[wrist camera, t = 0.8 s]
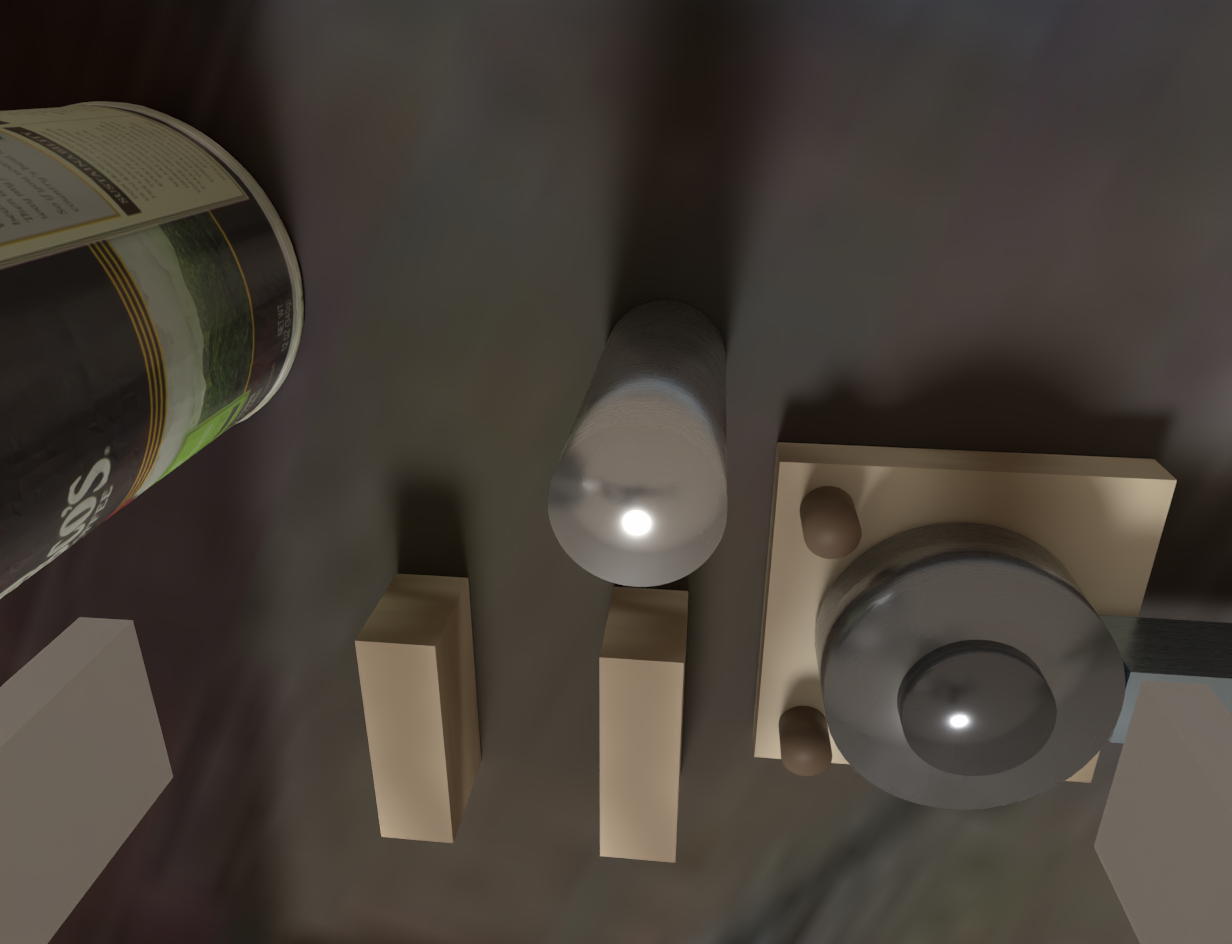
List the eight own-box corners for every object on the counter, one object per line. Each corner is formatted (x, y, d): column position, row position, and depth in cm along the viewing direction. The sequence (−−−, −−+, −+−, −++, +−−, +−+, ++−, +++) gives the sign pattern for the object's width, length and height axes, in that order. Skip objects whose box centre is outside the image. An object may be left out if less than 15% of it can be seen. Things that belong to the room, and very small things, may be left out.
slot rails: (416, 755, 35) (381, 836, 31) (397, 573, 31) (354, 640, 28) (680, 776, 34) (675, 862, 30) (688, 591, 31) (683, 662, 27)
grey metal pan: (803, 731, 30) (814, 818, 27) (827, 515, 27) (843, 582, 23) (1338, 770, 29) (1422, 868, 25) (1434, 546, 25) (1546, 623, 22)
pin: (605, 413, 28) (549, 581, 19) (605, 297, 27) (545, 421, 18) (722, 418, 28) (722, 591, 19) (729, 301, 26) (732, 429, 17)
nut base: (753, 727, 33) (755, 788, 30) (777, 442, 28) (783, 483, 25) (1075, 751, 32) (1108, 816, 29) (1154, 459, 27) (1202, 504, 24)
